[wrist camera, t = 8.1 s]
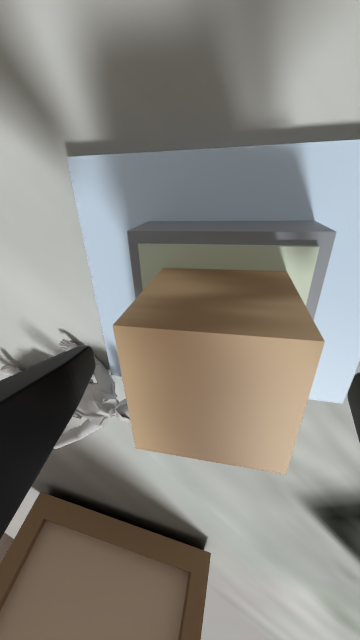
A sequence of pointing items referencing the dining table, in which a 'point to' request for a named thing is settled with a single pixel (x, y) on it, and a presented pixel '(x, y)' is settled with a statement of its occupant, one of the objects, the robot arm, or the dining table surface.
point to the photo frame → (98, 579)
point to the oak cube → (218, 365)
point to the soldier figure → (90, 402)
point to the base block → (235, 250)
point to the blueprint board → (229, 205)
